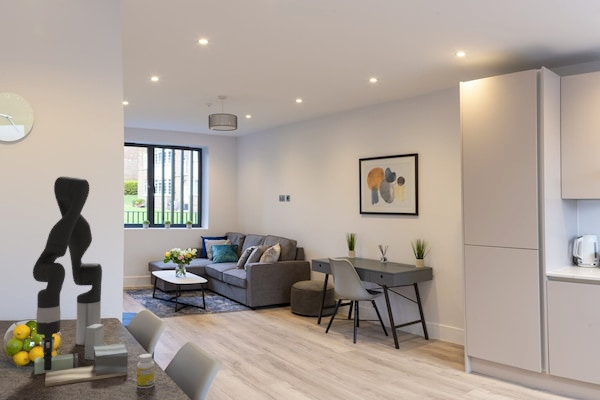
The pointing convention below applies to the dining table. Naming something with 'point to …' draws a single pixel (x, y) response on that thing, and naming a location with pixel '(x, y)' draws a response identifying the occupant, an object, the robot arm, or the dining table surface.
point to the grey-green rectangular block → (56, 363)
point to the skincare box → (93, 339)
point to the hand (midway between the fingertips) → (48, 366)
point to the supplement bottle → (145, 371)
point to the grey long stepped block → (94, 366)
